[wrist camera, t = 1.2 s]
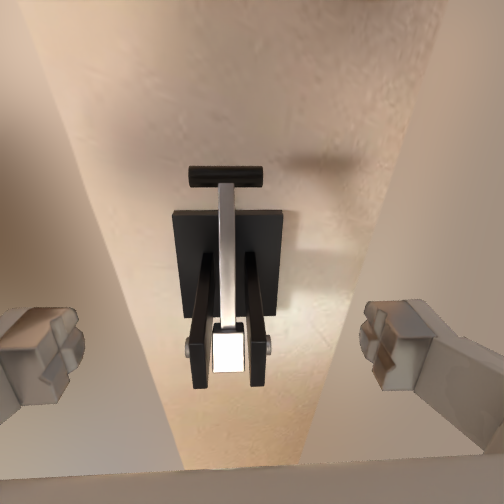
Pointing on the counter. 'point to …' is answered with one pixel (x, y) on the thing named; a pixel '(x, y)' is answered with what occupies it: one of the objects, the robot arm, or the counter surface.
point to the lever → (227, 259)
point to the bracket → (247, 282)
